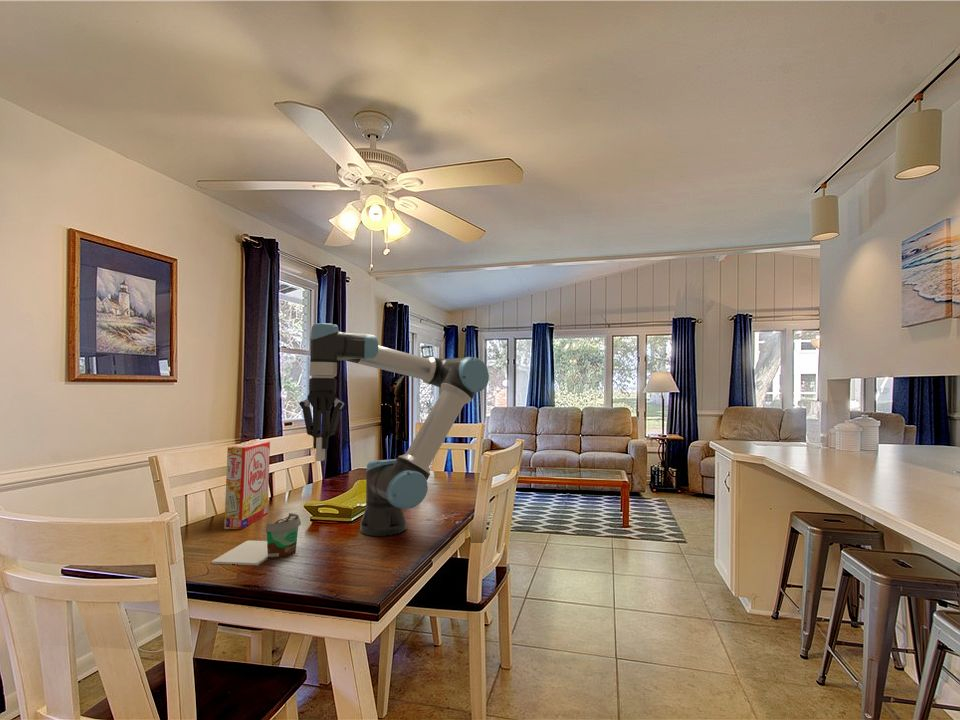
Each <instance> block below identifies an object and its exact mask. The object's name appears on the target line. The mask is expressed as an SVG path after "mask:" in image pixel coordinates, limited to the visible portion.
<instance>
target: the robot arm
mask: <svg viewBox="0 0 960 720" xmlns="http://www.w3.org/2000/svg"><path fill="white" fill-rule="evenodd" d="M309 338H310V339H309V340H310V343H309V344H310V345H309V346H310V349H309V351H310V353H309V357H310V358H309V370H308V371H309V373H308V374H309V377H310V378H309V379H308V395H307V396H306V398H305V399H304V400H303V401H299V402H298V403H299V406H300V408H301V409H302V413H303V414H302V415H303V419H304V424H305V430H306V434H307V435H308V436H311V437H312V438H313V439H312V440H313V445H312V448H313V449H314V450H315V462H323V461H325V460H326V458H325V457H326V449H328V448H329V437H331V436H334V435H335V434H336V432H337V428H338V424H339V421H340V420H339V419H340V416H341V413H342V410H343V408H344V407H345V406H346V403H345V402H344V401H341V400H339V399H338V395H337V383H338V382H337V379H336V378H335V377H337V374H338V373H337V372H338V361H340V362H341V361H345V362H350V363H353V364H358V365H362V366H366V367H370V368H374V369H379V370H381V371H383V370H384V371H387V372H391V373H396V374H399V375H402V376H407V377H411V378H415V379H419V380H422V382H423V383H424V384H428V385H432V386H435V387H438V388H440V389H441V393H440V395H439V396H438V398H437V399H436V401H435V403H434V404H433V406H432V408H431V409H430V412H429V413H428V415H427V416H426V418H425V420H424V422H423V424H422V425H421V427H420V428H419V431H418V432H417V434H416V435H415V437H414V439H413V440H412V442H411V444H410V445H409V447H408V449H407V451H406V452H405V454H402V455H398V457H397V458H396V459H395V458H394V459H392V458H391V459H379V460H378V459H377V460H371V461H369V462H368V463H367V464H366V471H365V475H366V479H365V480H366V482H365V486H366V487H365V490H366V491H365V495H366V497H365V501H366V502H365V509H364V513H363V515H362V518H361V520H360V525H359V527H360V528H359V532H360V533H362V534H363V535H366V536H372V537H386V535H389V536H393V535H392V534H395V535H398V534H397V533H399V534H401V533H400V532H402V531H404V530H405V529H406V530H407V520H406V516H405V512H404V510H409V509H413V508H415V507H417V506H419V505H420V504H421V503H422V502H423V501H424V500H425V498H426V496H427V493H428V490H429V487H428V479H429V477H430V476H431V472H430V466H431V465H432V462H433V461H434V459H435V457H436V455H437V454H438V452H439V450H440V448H441V447H442V445H443V443H444V441H445V439H446V438H447V436H448V434H449V432H450V431H451V430H452V429H451V428H452V427H453V425H454V423H455V421H456V419H457V418H458V416H459V414H460V413H461V411H462V410H463V407H464V405H467V404H469V403H471V402H472V400H473V399H474V397H475V396H476V394H477V393H480V392H482V391H483V390H485V389H486V387H487V386H488V384H489V380H490V373H489V368H488V366H487V365H486V363H485V362H484V361H483V360H482V359H480V358H478V357H474V356H473V357H472V356H465V357H455V358H453V357H452V358H439V357H433V356H429V357H428V358H426V357H423V356H418V355H416V354H411V353H408V352H404V351H400V350H397V349H393V348H389V347H387V346H386V347H385V346H382V345H379V340H378V337H377V336H376V335H375V334H370V333H369V334H368V333H357V332H356V333H355V332H345V331H344V332H343V331H340V330H339V326H338V325H337V324H335V323H334V324H333V323H326V322H323V323H321V322H319V323H318V322H317V323H314V324H312V326H311V329H310V337H309ZM333 406H334V408H333V411H332V407H333ZM311 407H312V411H311ZM331 412H332V415H331ZM312 413H313V415H312ZM406 530H405V531H406ZM405 531H404V532H405ZM402 533H403V532H402Z"/></svg>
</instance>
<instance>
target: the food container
mask: <svg viewBox="0 0 960 720" xmlns="http://www.w3.org/2000/svg"><path fill="white" fill-rule="evenodd" d="M301 524H302V522H301V518H300V516H299V515H298V513H288V516H286V517H285V518H281V519H278V520H276V521H275V522H274V523H266V526H265V532H266V541H267V551H268V559H267V560H271V559H272V560H281V558H282V559H286V558H289V557H291V556H294V555H296V552H297V551H296V550H297V544H298V543H297V542H298V534H299V532H298V531H299V527H300V526H301Z"/></svg>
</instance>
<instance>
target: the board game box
mask: <svg viewBox="0 0 960 720" xmlns="http://www.w3.org/2000/svg"><path fill="white" fill-rule="evenodd" d="M270 449H271V441H270V440H269V441H268V440H254V441H250V442H246V443H243V444H238V445H233V446H227V456H226V475H225V476H226V479H225V500H224V501H225V502H224V521H223V522H224V523H223V524H224V525H223V526H224V527H223V530H242V529H244V528H246V527H247V525H248V526H249V525H251V524H253V523H255V522H256V521H258V520H259V519H261V518H263V517H264V516H267V515H268V514H269V508H268V507H269V487H270V486H269V482H270V481H269V480H270ZM254 521H255V522H254Z"/></svg>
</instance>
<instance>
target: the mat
mask: <svg viewBox="0 0 960 720" xmlns="http://www.w3.org/2000/svg"><path fill="white" fill-rule="evenodd" d="M267 560H269V559H268V551H267V540H246V541H244V542H242V543H240V544H238V545H237V546H235V547H233V548H232V549H230V550H228V551H226V552H225V553H224V554H221V555H220V556H218V557H216V558H214V559H213V560H211V561H210V564H211V563H212V564H213V565H232V564H235V565H237V564H238V565H239V566H259V565H261V564H262V563H263V562H265V561H267ZM212 564H211V565H212ZM238 565H237V566H238Z"/></svg>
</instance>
